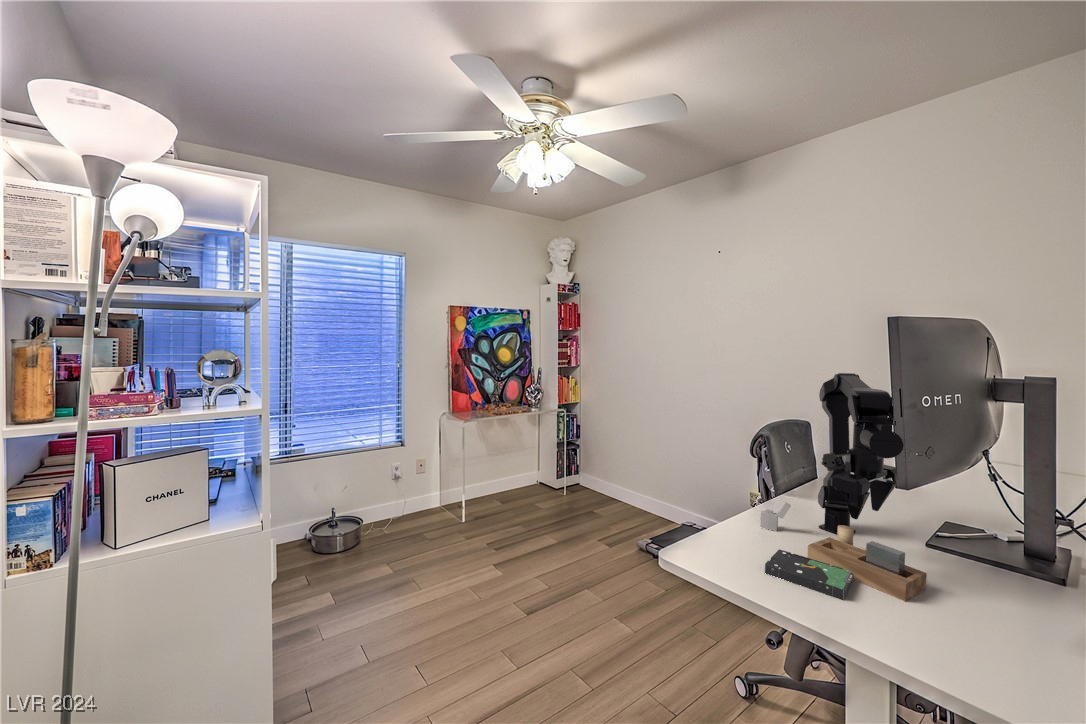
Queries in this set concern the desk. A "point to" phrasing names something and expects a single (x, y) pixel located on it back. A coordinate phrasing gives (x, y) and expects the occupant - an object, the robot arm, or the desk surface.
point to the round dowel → (845, 534)
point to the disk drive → (810, 574)
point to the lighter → (772, 517)
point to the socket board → (868, 569)
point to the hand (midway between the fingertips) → (865, 514)
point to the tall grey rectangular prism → (885, 558)
